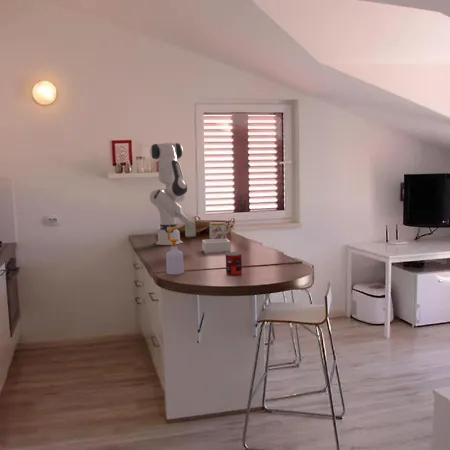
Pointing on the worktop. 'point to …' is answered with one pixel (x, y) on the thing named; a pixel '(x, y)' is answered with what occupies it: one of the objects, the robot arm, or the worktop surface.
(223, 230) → the candy bar box
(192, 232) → the small tote
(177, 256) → the soap bottle
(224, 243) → the box
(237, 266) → the canned food
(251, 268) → the worktop surface
